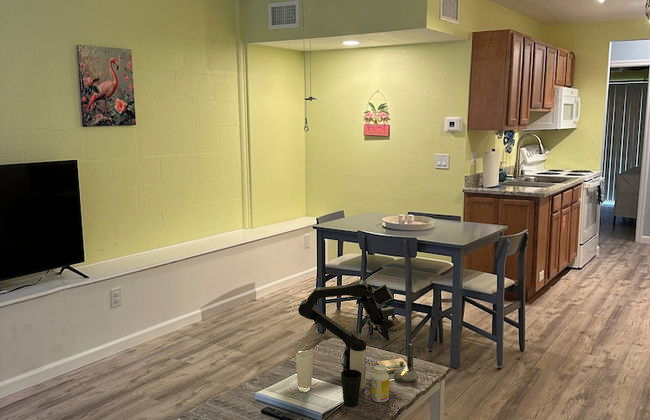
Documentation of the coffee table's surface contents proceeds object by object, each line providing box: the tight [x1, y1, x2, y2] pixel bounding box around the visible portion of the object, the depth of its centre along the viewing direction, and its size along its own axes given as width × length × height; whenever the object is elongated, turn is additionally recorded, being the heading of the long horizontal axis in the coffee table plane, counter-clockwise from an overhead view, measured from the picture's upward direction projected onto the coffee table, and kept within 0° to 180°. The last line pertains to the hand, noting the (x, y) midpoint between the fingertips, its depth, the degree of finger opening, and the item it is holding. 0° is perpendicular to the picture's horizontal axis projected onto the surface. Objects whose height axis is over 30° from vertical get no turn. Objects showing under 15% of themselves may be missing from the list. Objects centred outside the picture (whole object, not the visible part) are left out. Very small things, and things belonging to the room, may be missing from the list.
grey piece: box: [393, 343, 417, 384], centre depth 246 cm, size 12×9×12 cm
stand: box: [376, 357, 407, 374], centre depth 256 cm, size 12×9×3 cm
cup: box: [340, 369, 362, 408], centre depth 223 cm, size 8×8×12 cm
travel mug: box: [350, 339, 367, 392], centre depth 235 cm, size 6×7×20 cm
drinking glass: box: [295, 350, 314, 388], centre depth 234 cm, size 7×7×15 cm
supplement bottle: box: [370, 364, 390, 403], centre depth 227 cm, size 7×7×13 cm
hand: (388, 340), depth 252 cm, fingers closed
